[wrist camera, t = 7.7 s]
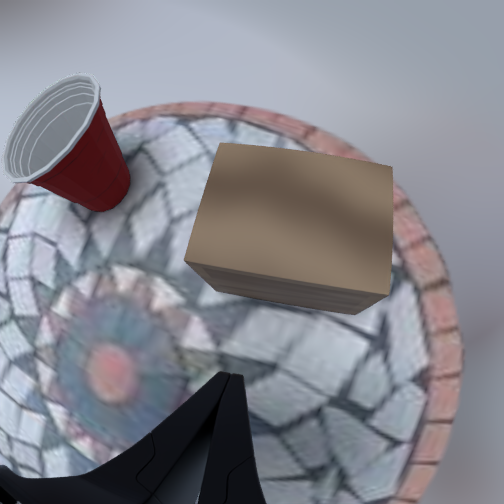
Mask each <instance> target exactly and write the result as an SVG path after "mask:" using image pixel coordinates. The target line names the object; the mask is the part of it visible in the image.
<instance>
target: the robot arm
mask: <svg viewBox="0 0 504 504" xmlns="http://www.w3.org/2000/svg"><path fill="white" fill-rule="evenodd" d="M199 492H200V495H199V500H198V504H266V501H265V498H264V495H263V492H262V489H261V485H260V482H259V478H258V473H257V468H256V462H255V457H254V449H253V442H252V435H251V427H250V420H249V413H248V405H247V398H246V390H245V383H244V376H243V375H241V374H234V373H233V374H230V373H228V372H221V371H220V372H218V373H217V374H215V375H214V376H213V377H212V378H211V379H210V380H209V381H208V382H207V383H206V384H205V385H204V386H202V387H201V388H200V389H199V390H198V391H197V392H196V393H195V394H194V395H192V396H191V397H190V398H189V399H188V400H187V401H186V402H185V403H183V404H182V405H181V406H180V407H179V408H178V409H177V410H175V411H174V412H173V413H172V414H171V415H170V416H169V417H167V418H166V419H165V420H164V421H163V422H162V423H160V424H159V425H158V426H157V427H156V428H154V429H153V430H152V431H151V433H148V434H147V435H146V436H145V437H144V438H142V439H141V440H140V441H138V442H137V443H136V444H134V445H133V446H132V447H130V448H129V449H127V450H126V451H124V452H123V453H121V454H120V455H118V456H116V457H115V458H113V459H111V460H110V461H108V462H106V463H105V464H103V465H101V466H99V467H98V468H96V469H94V470H92V471H90V472H88V473H85V474H82V475H78V476H69V477H55V478H25V477H21V476H18V475H17V474H15V473H14V472H13V471H11V470H10V469H9V468H8V467H7V466H5V465H0V504H195V502H196V499H197V497H198V494H199Z"/></svg>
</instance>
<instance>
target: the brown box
mask: <svg viewBox="0 0 504 504" xmlns="http://www.w3.org/2000/svg"><path fill="white" fill-rule="evenodd" d="M392 245H393V171H392V167H391V166H386V165H382V164H377V163H372V162H367V161H362V160H356V159H351V158H345V157H339V156H333V155H327V154H321V153H314V152H307V151H300V150H292V149H284V148H275V147H266V146H256V145H245V144H233V143H220V144H219V147H218V150H217V153H216V156H215V159H214V162H213V165H212V168H211V171H210V174H209V177H208V180H207V183H206V186H205V190H204V193H203V196H202V199H201V203H200V206H199V209H198V212H197V216H196V219H195V223H194V226H193V229H192V233H191V236H190V240H189V243H188V247H187V251H186V254H185V258H184V261H185V262H186V263H187V264H188V265H189V266H190V267H191V268H192V269H193V270H194V271H195V272H196V273H197V274H198V275H200V276H201V277H202V278H203V279H204V280H205V281H206V282H207V283H208V284H209V285H210V286H211V287H212V288H213V289H214V290H215V291H218V292H223V293H228V294H234V295H239V296H244V297H249V298H255V299H260V300H266V301H271V302H277V303H283V304H288V305H294V306H300V307H306V308H312V309H319V310H325V311H331V312H338V313H344V314H351V315H356V314H358V313H360V312H361V311H363V310H365V309H367V308H368V307H370V306H372V305H373V304H375V303H377V302H378V301H380V300H382V299H383V298H385V297H387V296H388V295H389V291H390V279H391V265H392Z"/></svg>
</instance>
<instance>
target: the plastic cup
mask: <svg viewBox="0 0 504 504" xmlns="http://www.w3.org/2000/svg"><path fill="white" fill-rule="evenodd" d="M100 90H101V88H100V84H99V83H98V81H97V80H96V78H95V77H94V76H93V75H92V74H87V73H76V74H73V75H70V76H66V77H63V78H61V79H60V80H58V81H57V82H55V83H53V84H52V85H50V86H49V87H47V88H45V89H44V90H43V91H42V92H41V93H40V94H39V95H38V96H37V97H36V98H35V99H33V100H32V101H31V102H30V103H29V104H28V106H27V107H26V108H25V110H24V111H23V112H22V114H21V115H20V116H19V118H18V119H17V121H16V122H15V124H14V126H13V128H12V130H11V131H10V134H9V136H8V138H7V140H6V142H5V147H4V151H3V155H2V168H3V174H4V176H6V178H8V179H9V180H10V181H11V182H12V183H29V184H34V185H36V186H41V187H43V188H45V189H47V190H49V191H51V192H53V193H55V194H57V195H59V196H61V197H63V198H65V199H68V200H70V201H72V202H74V203H78V204H80V205H82V206H84V207H86V208H88V209H90V210H94V211H99V212H104V211H106V210H109V209H112V208H113V207H115V206H116V205H117V204H118V203H120V202H121V200H122V199H123V198H124V196H125V195H126V193H127V191H128V189H129V186H130V174H129V170H128V167H127V165H126V163H125V161H124V159H123V157H122V152H121V150H120V148H119V145H118V143H117V141H116V139H115V136H114V134H113V132H112V130H111V127H110V125H109V123H108V120H107V118H106V115H105V111H104V109H103V106H102V101H101V99H100Z"/></svg>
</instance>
